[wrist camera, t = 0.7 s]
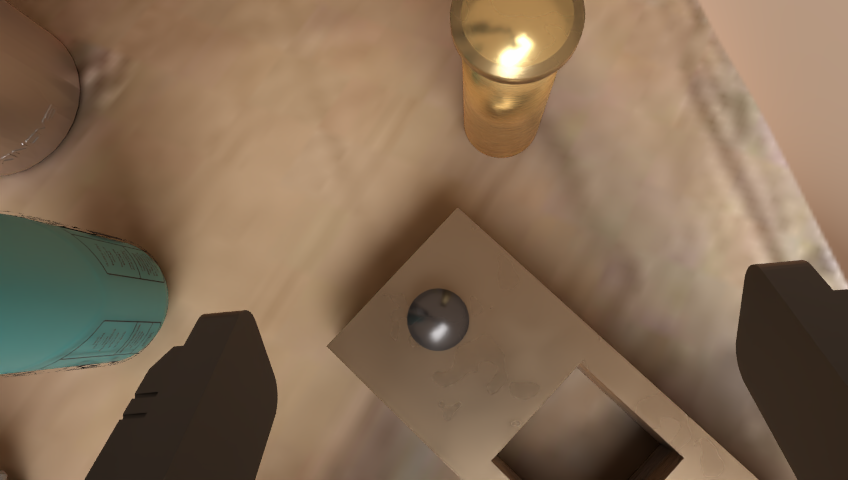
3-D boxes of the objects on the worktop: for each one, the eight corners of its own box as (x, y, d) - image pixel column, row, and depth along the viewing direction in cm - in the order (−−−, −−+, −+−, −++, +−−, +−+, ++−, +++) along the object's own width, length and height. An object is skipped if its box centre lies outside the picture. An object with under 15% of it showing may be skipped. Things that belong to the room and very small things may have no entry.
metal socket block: (341, 344, 34) (321, 346, 29) (458, 220, 34) (457, 203, 30) (654, 652, 31) (686, 708, 26) (777, 510, 31) (830, 540, 27)
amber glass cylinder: (438, 125, 35) (422, 18, 23) (498, 62, 35) (512, -75, 23) (504, 183, 34) (522, 104, 23) (564, 118, 35) (613, 7, 23)
